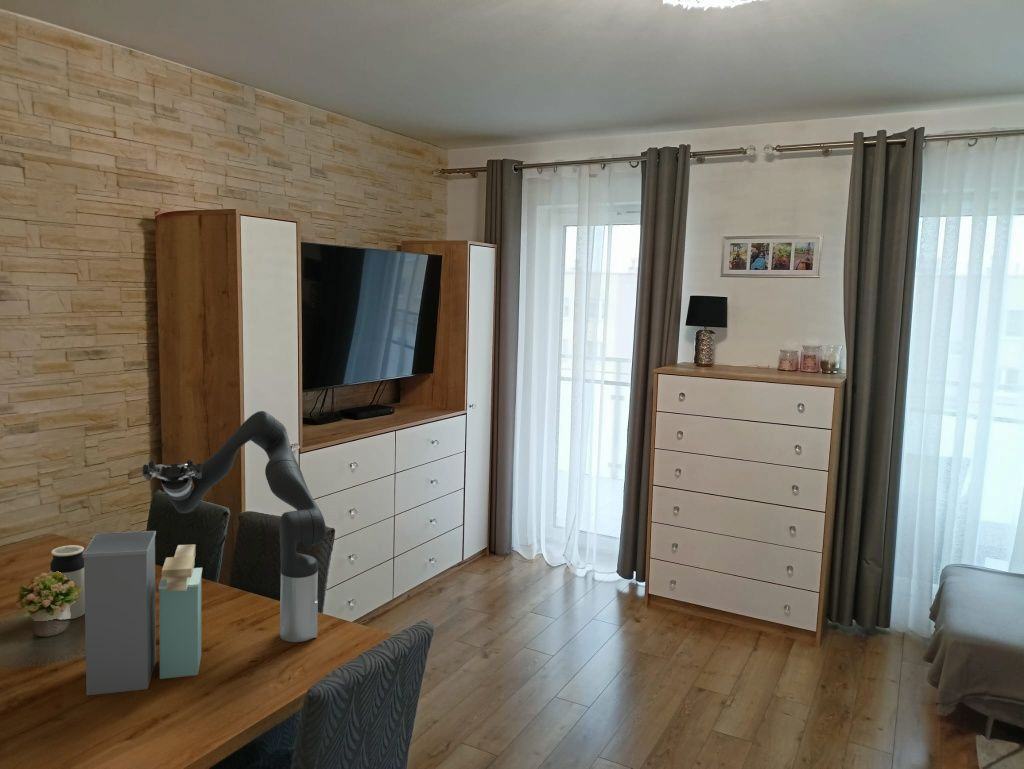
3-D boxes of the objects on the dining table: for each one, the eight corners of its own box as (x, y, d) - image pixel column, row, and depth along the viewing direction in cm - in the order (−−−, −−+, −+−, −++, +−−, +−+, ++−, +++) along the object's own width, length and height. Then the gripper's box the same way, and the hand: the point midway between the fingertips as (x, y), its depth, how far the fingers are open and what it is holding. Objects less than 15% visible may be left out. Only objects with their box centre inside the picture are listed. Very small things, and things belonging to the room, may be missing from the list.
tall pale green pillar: (202, 654, 182) (202, 567, 180) (198, 675, 172) (198, 584, 170) (164, 657, 180) (164, 569, 177) (158, 679, 170) (158, 586, 167)
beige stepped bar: (199, 555, 187) (199, 536, 186) (191, 590, 166) (191, 568, 166) (173, 557, 185) (173, 537, 185) (161, 592, 164) (161, 570, 164)
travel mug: (85, 618, 197) (83, 553, 195) (49, 623, 194) (48, 556, 192) (87, 606, 204) (86, 543, 202) (53, 610, 201) (51, 546, 199)
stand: (156, 660, 178) (155, 530, 174) (148, 689, 166) (147, 550, 162) (98, 665, 174) (96, 533, 170) (85, 696, 162) (82, 553, 158)
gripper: (149, 468, 206) (141, 450, 192) (204, 466, 211) (200, 449, 197) (147, 494, 204) (138, 478, 189) (203, 492, 208) (199, 477, 194)
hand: (170, 463), depth 193 cm, fingers open, 8 cm apart
